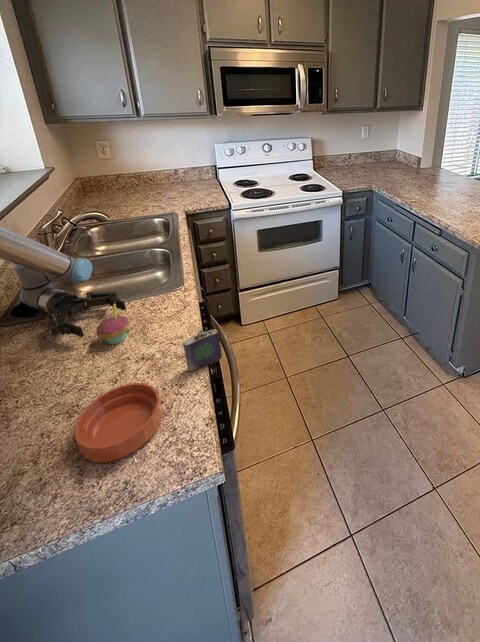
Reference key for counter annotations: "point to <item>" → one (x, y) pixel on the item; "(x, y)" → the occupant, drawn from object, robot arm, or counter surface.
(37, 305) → the robot arm
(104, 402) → the bowl
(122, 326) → the cupcake
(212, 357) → the flask
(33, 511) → the counter surface
